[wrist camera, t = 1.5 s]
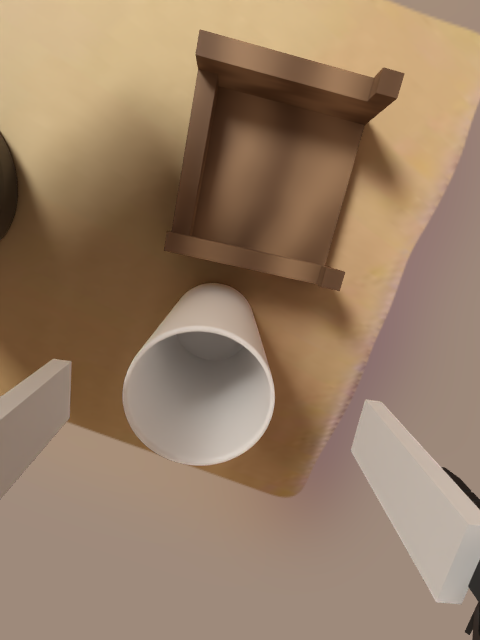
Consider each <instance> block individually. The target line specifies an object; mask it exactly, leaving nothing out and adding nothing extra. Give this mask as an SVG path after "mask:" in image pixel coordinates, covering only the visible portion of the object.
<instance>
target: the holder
mask: <svg viewBox="0 0 480 640" xmlns="http://www.w3.org/2000/svg"><path fill="white" fill-rule="evenodd" d="M196 59H197V65H198V74H197V80H196V86H195V92H194V98H193V104H192V110H191V117H190V123H189V129H188V135H187V141H186V147H185V153H184V159H183V165H182V171H181V177H180V183H179V190H178V196H177V202H176V208H175V214H174V220H173V226H172V232H170V231H167V235H166V241H165V247H164V251H168V252H173V253H177V254H182V255H186V256H191V257H195V258H200V259H204V260H209V261H213V262H218V263H223V264H227V265H232V266H236V267H241V268H245V269H250V270H254V271H259V272H263V273H268V274H272V275H277V276H281V277H286V278H290V279H295V280H300V281H304V282H309V283H313V284H317V285H319V286H320V287H324V288H328V289H333V290H337V291H340V288H341V285H342V281H343V278H344V275H345V272H343V271H340V270H337V269H334V268H331V267H328V266H325V264H326V260H327V257H328V253H329V250H330V246H331V242H332V239H333V235H334V232H335V228H336V225H337V221H338V218H339V214H340V211H341V207H342V203H343V200H344V196H345V193H346V189H347V186H348V182H349V179H350V175H351V172H352V168H353V164H354V161H355V157H356V154H357V150H358V147H359V143H360V140H361V136H362V133H363V129H364V125H365V124H366V123H368V122H369V121H370V120H371V119H373V118H374V117H375V116H376V115H377V114H379V113H380V112H381V111H382V110H384V109H385V108H386V107H387V106H388V105H390V104H391V103H392V102H393V101H394V100H396V99H397V97H398V94H399V90H400V87H401V83H402V80H403V77H404V73H401V72H397V71H394V70H390V69H387V68H382V70H381V71H380V72H379V73H378V74H377V75H376V76H375V77H374V78H372V77H368V76H365V75H361V74H357V73H354V72H350V71H347V70H343V69H339V68H336V67H332V66H329V65H325V64H322V63H318V62H314V61H311V60H307V59H304V58H300V57H297V56H293V55H289V54H286V53H282V52H279V51H275V50H272V49H268V48H264V47H261V46H257V45H254V44H250V43H247V42H243V41H239V40H236V39H232V38H229V37H225V36H221V35H218V34H214V33H211V32H207V31H204V30H199V37H198V43H197V49H196Z"/></svg>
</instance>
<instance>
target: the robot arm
mask: <svg viewBox="0 0 480 640" xmlns="http://www.w3.org/2000/svg"><path fill="white" fill-rule="evenodd" d="M17 198H18V184H17V176H16V171H15V166H14V163H13V160H12V157H11V154H10V151H9V149H8V147H7V145H6V143H5V141H4V139H3V137H2V136H1V134H0V240H1V239H2V238H3V237H4V235H5V234H6V232H7V231H8V229H9V227H10V225H11V223H12V220H13V218H14V215H15V211H16V206H17ZM71 363H72V361H67V360H59V359H52V360H51V361H49V362H48V363H47V364H45V365H44V366H42V367H41V368H40V369H38V370H37V371H36V372H34V373H33V374H31V375H30V376H29V377H27V378H26V379H24V380H23V381H22V382H20V383H19V384H18V385H16V386H15V387H13V388H12V389H11V390H9V391H8V392H7V393H5V394H4V395H2V396H1V397H0V499H1V498H2V497H3V496H4V495H5V493H6V492H7V491H8V490H9V489H10V488H11V486H12V485H13V484H14V483H15V482H16V480H17V479H18V478H19V477H20V476H21V475H22V473H23V472H24V471H25V470H26V469H27V468H28V466H29V465H30V464H31V463H32V462H33V461H34V459H35V458H36V457H37V456H38V455H39V453H40V452H41V451H42V450H43V449H44V448H45V446H46V445H47V444H48V443H49V442H50V441H51V439H52V438H53V437H54V436H55V435H56V433H57V432H58V431H59V430H60V429H61V428H62V426H63V425H64V424H65V423H66V422H67V421H68V419H69V418H70V395H71ZM351 452H352V454H353V456H354V458H355V459H356V461H357V463H358V465H359V467H360V468H361V470H362V472H363V474H364V475H365V477H366V479H367V481H368V482H369V484H370V486H371V488H372V489H373V491H374V493H375V495H376V497H377V498H378V500H379V502H380V504H381V505H382V507H383V509H384V511H385V513H386V514H387V516H388V518H389V519H390V521H391V523H392V525H393V527H394V528H395V530H396V532H397V534H398V536H399V537H400V539H401V541H402V543H403V544H404V546H405V548H406V550H407V551H408V553H409V555H410V557H411V559H412V560H413V562H414V564H415V566H416V567H417V569H418V571H419V573H420V575H421V576H422V578H423V580H424V581H425V583H426V585H427V587H428V588H429V590H430V592H431V594H432V596H433V598H434V599H435V601H436V602H442V603H453V604H462V602H463V599H464V597H465V595H466V593H467V590H468V588H470V590H471V591H472V593H473V594H474V596H475V597H476V599H477V600H478V604H477V606H476V608H475V611H474V613H473V615H472V617H471V619H470V622H469V624H468V626H467V628H466V630H465V632H466V633H467V634H469V635H470V633H471V631H472V630H473V640H480V499H479V498H478V497H477V496H476V495H475V494H474V493H472V492H471V490H470V489H469V488H468V487H467V486H466V485H465V484H464V482H463V481H462V480H461V479H460V478H458V477H457V476H456V475H454V474H453V473H452V472H450V471H449V470H447V469H446V468H444V467H440V466H439V465H438V463H437V462H436V461H435V460H434V459H433V458H432V457H431V456H430V455H429V453H428V452H427V451H426V450H425V449H424V448H423V447H422V446H421V445H420V444H419V443H418V441H417V440H416V439H415V438H414V437H413V436H412V435H411V434H410V433H409V432H408V430H407V429H406V428H405V427H404V426H403V425H402V424H401V423H400V422H399V421H398V419H397V418H396V417H395V416H394V415H393V414H392V413H391V412H390V411H389V410H388V408H387V407H386V406H385V405H384V404H383V403H382V402H381V401H373V400H365V402H364V406H363V410H362V413H361V416H360V420H359V423H358V427H357V430H356V434H355V437H354V441H353V444H352V448H351Z"/></svg>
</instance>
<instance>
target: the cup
mask: <svg viewBox="0 0 480 640" xmlns="http://www.w3.org/2000/svg"><path fill="white" fill-rule="evenodd" d="M122 398H123V407H124V412H125V415H126V418H127V420H128V423H129V425H130V426H131V428H132V430H133V431H134V433H135V434H136V436H137V437H138V438H139V439H140V440H141V441H142V442H143V443H144V444H145V445H146V446H147V447H148V448H149V449H151V450H152V451H153V452H155V453H156V454H158V455H160V456H162V457H164V458H166V459H168V460H171V461H174V462H177V463H181V464H186V465H196V466H204V465H213V464H218V463H222V462H225V461H228V460H231V459H233V458H235V457H237V456H239V455H241V454H243V453H244V452H246V451H247V450H248V449H250V448H251V447H252V446H253V445H254V444H255V443H256V442H257V441H258V440H259V439H260V438H261V436H262V435H263V434H264V432H265V431H266V429H267V427H268V425H269V423H270V420H271V418H272V414H273V410H274V404H275V391H274V383H273V378H272V375H271V371H270V368H269V365H268V361H267V358H266V354H265V351H264V348H263V345H262V341H261V338H260V335H259V331H258V328H257V325H256V321H255V318H254V315H253V311H252V309H251V306H250V304H249V303H248V301H247V300H246V298H245V297H244V296H243V295H242V294H241V293H240V292H239V291H237V290H236V289H234V288H232V287H230V286H228V285H225V284H220V283H206V284H201V285H198V286H196V287H194V288H192V289H190V290H189V291H188V292H186V293H185V294H184V295H183V296H182V297H181V298H180V300H179V301H178V302H177V304H176V305H175V306H174V307H173V309H172V310H171V311H170V312H169V314H168V315H167V316H166V318H165V319H164V320H163V321H162V323H161V324H160V325H159V326H158V328H157V329H156V330H155V332H154V333H153V334H152V335H151V337H150V338H149V339H148V340H147V342H146V343H145V344H144V346H143V347H142V348H141V349H140V351H139V352H138V353H137V355H136V356H135V358H134V359H133V361H132V363H131V365H130V366H129V369H128V371H127V374H126V376H125V380H124V384H123V394H122Z"/></svg>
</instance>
